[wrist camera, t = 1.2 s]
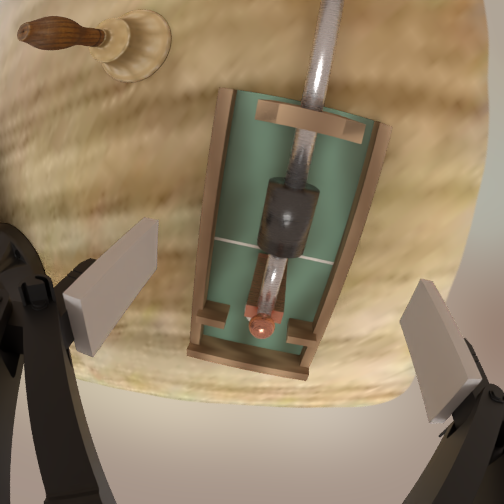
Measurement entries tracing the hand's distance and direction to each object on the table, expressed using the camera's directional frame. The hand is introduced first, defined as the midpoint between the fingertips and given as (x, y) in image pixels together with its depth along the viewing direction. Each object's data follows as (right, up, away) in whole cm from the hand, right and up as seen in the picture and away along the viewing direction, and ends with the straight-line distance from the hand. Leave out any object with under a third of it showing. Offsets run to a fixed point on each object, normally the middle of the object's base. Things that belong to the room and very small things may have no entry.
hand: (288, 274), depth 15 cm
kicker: (+3, +11, +12) cm, 16 cm away
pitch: (+1, +2, +19) cm, 19 cm away
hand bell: (-14, +22, +11) cm, 28 cm away
